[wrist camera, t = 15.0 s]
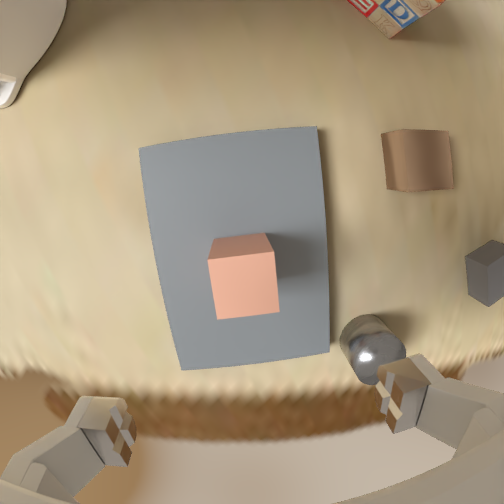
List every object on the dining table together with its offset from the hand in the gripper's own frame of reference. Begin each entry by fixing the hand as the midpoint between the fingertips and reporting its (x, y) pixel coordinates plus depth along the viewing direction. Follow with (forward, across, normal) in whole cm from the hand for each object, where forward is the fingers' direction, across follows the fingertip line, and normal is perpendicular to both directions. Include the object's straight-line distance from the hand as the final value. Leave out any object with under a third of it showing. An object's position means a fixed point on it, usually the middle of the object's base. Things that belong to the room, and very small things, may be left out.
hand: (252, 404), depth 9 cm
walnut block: (+18, -16, -7) cm, 25 cm away
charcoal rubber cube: (+18, -27, +5) cm, 33 cm away
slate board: (+18, 0, 0) cm, 18 cm away
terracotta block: (+17, 0, 0) cm, 17 cm away
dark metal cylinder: (+18, -11, +10) cm, 24 cm away
